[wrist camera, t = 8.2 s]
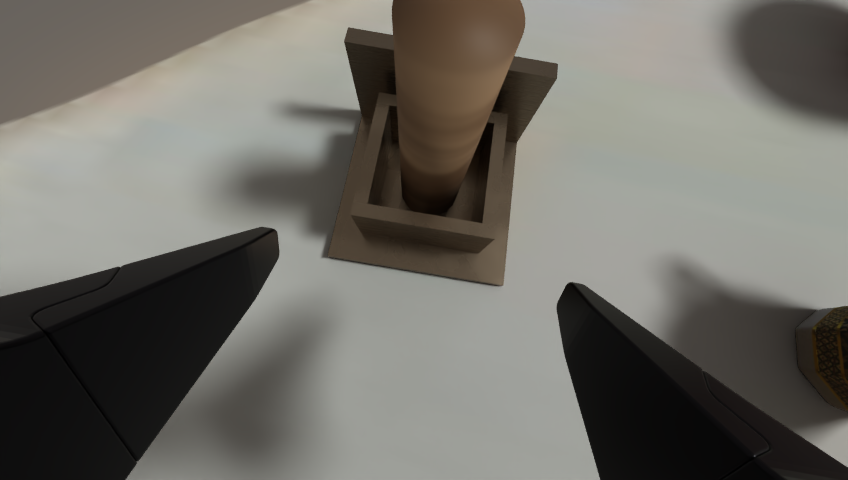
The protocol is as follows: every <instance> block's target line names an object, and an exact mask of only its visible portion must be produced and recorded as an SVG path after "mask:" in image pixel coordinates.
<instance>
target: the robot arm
mask: <svg viewBox="0 0 848 480" xmlns="http://www.w3.org/2000/svg"><path fill="white" fill-rule="evenodd" d="M278 258H279V244H278V235H277V231H276V230H275V229H272V228H267V227H259V228H255V229H251V230H248V231H244V232H241V233H237V234H233V235H230V236H226V237H223V238H219V239H216V240H212V241H208V242H205V243H201V244H198V245H194V246H191V247H187V248H183V249H180V250H176V251H173V252H169V253H165V254H162V255H158V256H155V257H151V258H148V259H144V260H140V261H137V262H133V263H130V264H126V265H123V266H122V267H115V268H112V269H108V270H104V271H101V272H97V273H93V274H90V275H86V276H82V277H78V278H75V279H71V280H67V281H63V282H59V283H55V284H51V285H47V286H43V287H39V288H35V289H31V290H27V291H22V292H18V293H14V294H10V295H6V296H1V297H0V480H125V479H126V478H127V477H128V475H129V474H130V472H131V471H132V470H133V468H134V467H135V466H136V464H137V462H136V461H139V460H140V458H141V457H142V455H143V454H144V453H145V451H146V450H147V449H148V447H149V446H150V444H151V443H152V442H153V440H154V439H155V437H156V436H157V435H158V433H159V432H160V431H161V429H162V428H163V426H164V425H165V424H166V422H167V421H168V419H169V418H170V417H171V415H172V414H173V413H174V411H175V410H176V408H177V407H178V406H179V404H180V403H181V401H182V400H183V399H184V397H185V396H186V395H187V393H188V392H189V390H190V389H191V388H192V386H193V385H194V384H195V382H196V381H197V379H198V378H199V377H200V375H201V374H202V372H203V371H204V370H205V368H206V367H207V366H208V364H209V363H210V361H211V360H212V359H213V357H214V356H215V354H216V353H217V352H218V350H219V349H220V348H221V346H222V345H223V343H224V342H225V341H226V339H227V338H228V336H229V335H230V334H231V332H232V331H233V330H234V328H235V327H236V325H237V324H238V323H239V321H240V320H241V318H242V317H243V316H244V314H245V313H246V312H247V310H248V309H249V307H250V306H251V305H252V303H253V302H254V300H255V299H256V297H257V295H258V294H259V292H260V290H261V289H262V287H263V285H264V283H265V281H266V280H267V278H268V276H269V274H270V273H271V271H272V269H273V267H274V265H275V264H276V262H277V260H278ZM557 314H558V320H559V326H560V332H561V338H562V344H563V349H564V354H565V358H566V362H567V365H568V369H569V372H570V376H571V379H572V383H573V386H574V390H575V393H576V397H577V400H578V404H579V407H580V411H581V414H582V418H583V421H584V425H585V428H586V432H587V435H588V438H589V442H590V445H591V449H592V452H593V456H594V459H595V463H596V466H597V470H598V473H599V477H600V480H848V467H846V466H845V465H843V464H842V463H840V462H838V461H837V460H835V459H834V458H832V457H831V456H829V455H828V454H826V453H825V452H823V451H822V450H820V449H819V448H817V447H816V446H814V445H813V444H811V443H810V442H808V441H807V440H805V439H804V438H802V437H801V436H799V435H798V434H796V433H795V432H793V431H791V430H790V429H788V428H787V427H785V426H784V425H782V424H781V423H779V422H778V421H776V420H775V419H773V418H772V417H770V416H769V415H767V414H766V413H764V412H763V411H761V410H760V409H758V408H757V407H756V406H754V405H753V404H751V403H750V402H748V401H747V400H745V399H744V398H742V397H741V396H739V395H738V394H737V393H735V392H734V391H732V390H731V389H729V388H728V387H727V386H725V385H724V384H722V383H721V382H719V381H718V380H717V379H715V378H714V377H712V376H711V375H710V374H708V373H707V372H705V371H702V369H701V368H700V367H698V366H697V365H696V364H694V363H693V362H691V361H690V360H689V359H687V358H686V357H684V356H683V355H682V354H680V353H679V352H677V351H676V350H675V349H673V348H672V347H670V346H669V345H668V344H666V343H665V342H663V341H662V340H661V339H659V338H658V337H656V336H655V335H654V334H652V333H651V332H649V331H648V330H647V329H645V328H644V327H642V326H641V325H640V324H638V323H637V322H635V321H634V320H633V319H631V318H630V317H628V316H627V315H626V314H624V313H623V312H621V311H620V310H619V309H617V308H616V307H614V306H613V305H612V304H610V303H609V302H607V301H606V300H605V299H603V298H602V297H600V296H599V295H598V294H596V293H595V292H593V291H592V290H591V289H589V288H588V287H586V286H585V285H583V284H579V283H573V282H570V283H568V284H567V285H566V287H565V289H564V291H563V293H562V294H561V296H560V298H559V300H558V303H557Z"/></svg>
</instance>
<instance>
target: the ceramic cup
mask: <svg viewBox="0 0 848 480" xmlns="http://www.w3.org/2000/svg"><path fill="white" fill-rule="evenodd" d="M795 331H796V345H797V357H798V367H799V369H800V370H801V372H802V373H803V374H804V375H805V376H806V378H807V379H808V380H809V381H810V382H811V384H812V385H813V386H814V387H815V388H816V390H817V391H818V392H819V393H820V394H821V396H822V397H823V398H824V399H825V400H826V401H827V402H828V403H829V404H831V405H832V406H834V407H836V408H839V409H842V410H845V411H848V306H843V307H837V308H827V309H821V310H819V311H815V312H814V313H813V314H812V315H811V316H809V317H808V318H807V319H806V320H805V321H804V322H802V323H801V324H800V325H799V326H798V327H797V328H796V329H795Z"/></svg>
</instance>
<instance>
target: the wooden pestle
mask: <svg viewBox="0 0 848 480" xmlns="http://www.w3.org/2000/svg"><path fill="white" fill-rule="evenodd" d="M392 23H393V41H394V59H395V78H396V96H397V114H398V133H399V151H400V169H401V187H402V196H403V199H404V201H405V203H406V204H407V206H408V207H409V208H410V209H411V210H413V211H414V212H419V213H425V214H431V215H439V214H442V213H444V212H446V211H447V210H448V209H449V208H450V207H451V206H452V205H453V203H454V201H455V199H456V197H457V194H458V192H459V189H460V187H461V184H462V182H463V180H464V177H465V175H466V172H467V170H468V167H469V165H470V162H471V160H472V158H473V155H474V153H475V150H476V148H477V145H478V143H479V141H480V138H481V136H482V133H483V131H484V128H485V126H486V123H487V121H488V119H489V116H490V114H491V111H492V109H493V106H494V104H495V101H496V99H497V97H498V94H499V92H500V89H501V87H502V84H503V82H504V79H505V77H506V75H507V72H508V70H509V67H510V65H511V62H512V60H513V58H514V55H515V53H516V50H517V48H518V45H519V43H520V40H521V38H522V35H523V32H524V28H525V14H524V9H523V6H522V3H521V1H520V0H393V5H392Z"/></svg>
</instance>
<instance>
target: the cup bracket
mask: <svg viewBox="0 0 848 480" xmlns="http://www.w3.org/2000/svg"><path fill="white" fill-rule="evenodd" d="M344 43H345V47H346V51H347V55H348V59H349V64H350V68H351V72H352V76H353V80H354V84H355V89H356V93H357V97H358V101H359V105H360V110H361V114H362V118H361V122H360V126H359V130H358V134H357V139H356V143H355V147H354V151H353V155H352V159H351V163H350V167H349V171H348V175H347V179H346V183H345V187H344V191H343V195H342V199H341V203H340V207H339V211H338V215H337V219H336V223H335V227H334V231H333V235H332V239H331V244H330V248H329V252H328V256H329V257H330V258H336V259H342V260H348V261H354V262H360V263H366V264H372V265H378V266H384V267H390V268H396V269H402V270H408V271H414V272H420V273H426V274H432V275H438V276H444V277H449V278H455V279H461V280H467V281H473V282H479V283H485V284H491V285H497V286H503V283H504V272H505V262H506V251H507V240H508V230H509V219H510V209H511V198H512V187H513V177H514V166H515V155H516V145H517V141H518V140H519V138H520V137H521V135H522V133H523V132H524V130H525V129H526V127H527V125H528V124H529V122H530V121H531V119H532V117H533V116H534V114H535V113H536V111H537V109H538V108H539V106H540V105H541V103H542V101H543V100H544V98H545V97H546V95H547V93H548V92H549V90H550V89H551V87H552V85H553V84H554V82H555V81H556V79H557V69H558V64H556V63H550V62H544V61H539V60H533V59H527V58H521V57H516V56H514V58H513V60H512V62H511V65H510V67H509V70H508V72H507V75H506V77H505V79H504V82H503V84H502V87H501V89H500V92H499V94H498V97H497V99H496V101H495V104H494V106H493V109H492V111H491V114H490V116H489V119H488V121H487V123H486V126H485V128H484V131H483V133H482V136H481V138H480V141H479V143H478V145H477V148H476V150H475V153H474V155H473V158H472V160H471V162H470V165H469V167H468V170H467V172H466V175H465V177H464V180H463V182H462V184H461V187H460V189H459V192H458V194H457V197H456V199H455V201H454V203H453V205H452V206H451V207H450V208H449V209H448V210H447V211H446V212H444V213H442V214H439V215H431V214H425V213H419V212H414V211H413V210H411V209H410V208H409V207H408V206H407V204H406V203H405V201H404V199H403V196H402V187H401V169H400V151H399V133H398V114H397V96H396V78H395V59H394V41H393V35H389V34H383V33H377V32H372V31H366V30H360V29H354V28H349V27H348V30H347V34H346V37H345V41H344Z"/></svg>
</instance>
